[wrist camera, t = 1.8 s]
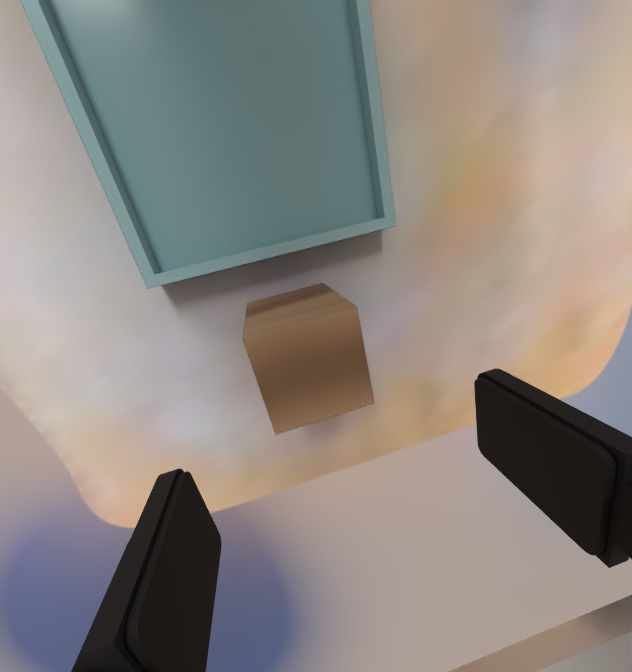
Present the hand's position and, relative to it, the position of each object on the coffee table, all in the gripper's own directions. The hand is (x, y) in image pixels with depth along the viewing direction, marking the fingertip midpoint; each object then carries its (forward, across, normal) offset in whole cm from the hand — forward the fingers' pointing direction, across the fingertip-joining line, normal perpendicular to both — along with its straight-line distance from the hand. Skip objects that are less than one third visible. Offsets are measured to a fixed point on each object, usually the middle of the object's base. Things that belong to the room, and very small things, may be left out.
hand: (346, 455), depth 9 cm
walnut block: (+12, 0, -1) cm, 12 cm away
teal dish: (+11, 0, -13) cm, 17 cm away
